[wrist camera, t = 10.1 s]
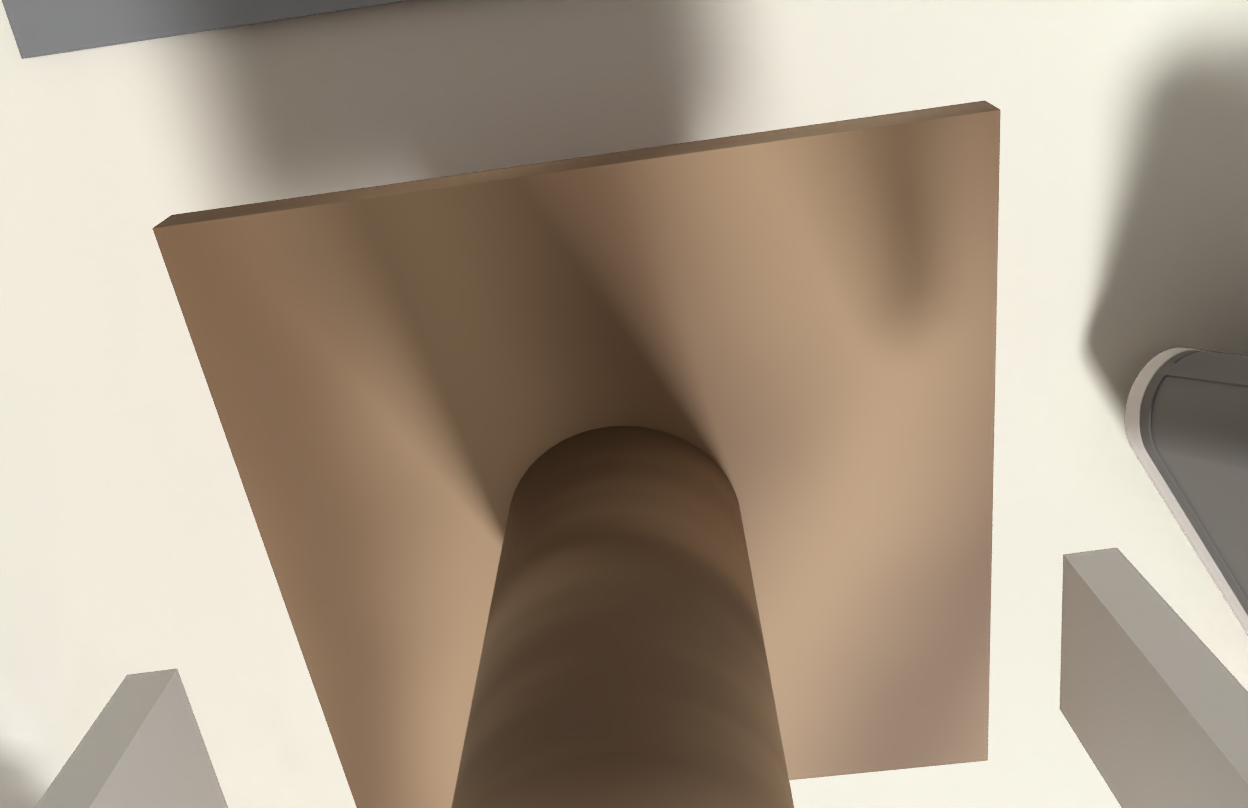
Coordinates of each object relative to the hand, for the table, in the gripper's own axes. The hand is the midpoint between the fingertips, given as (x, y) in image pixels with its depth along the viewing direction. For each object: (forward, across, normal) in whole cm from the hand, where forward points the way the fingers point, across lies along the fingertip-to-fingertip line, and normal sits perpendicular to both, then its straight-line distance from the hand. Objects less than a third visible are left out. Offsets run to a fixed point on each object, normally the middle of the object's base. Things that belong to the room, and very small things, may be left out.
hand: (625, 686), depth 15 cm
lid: (+6, 0, 0) cm, 6 cm away
